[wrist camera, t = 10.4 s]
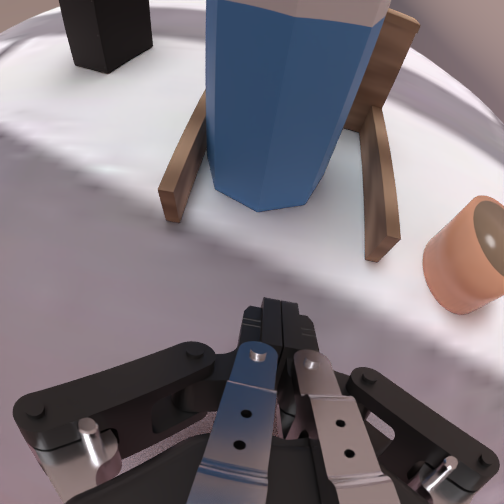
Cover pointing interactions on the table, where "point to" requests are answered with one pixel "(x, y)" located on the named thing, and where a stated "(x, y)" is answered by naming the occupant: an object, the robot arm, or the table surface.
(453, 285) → the clay pot
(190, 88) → the table surface
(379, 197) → the brown wooden frame
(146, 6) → the black square pillar
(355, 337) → the table surface
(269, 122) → the water bottle
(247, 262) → the table surface
